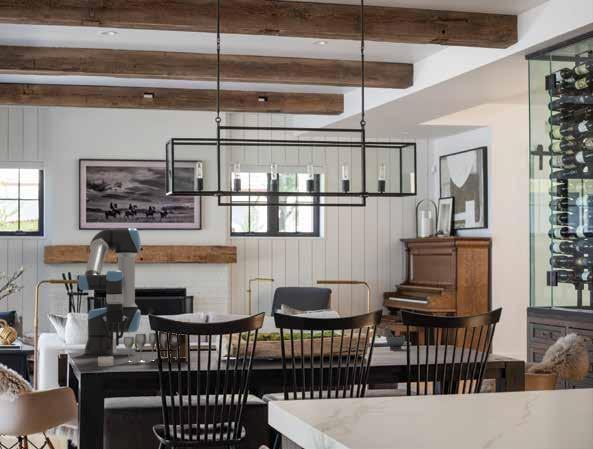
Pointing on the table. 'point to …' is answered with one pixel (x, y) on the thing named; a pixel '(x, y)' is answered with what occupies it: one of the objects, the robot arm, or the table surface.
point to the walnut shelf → (182, 346)
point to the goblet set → (141, 342)
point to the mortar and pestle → (394, 340)
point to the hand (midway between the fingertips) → (114, 352)
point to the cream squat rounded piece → (105, 361)
